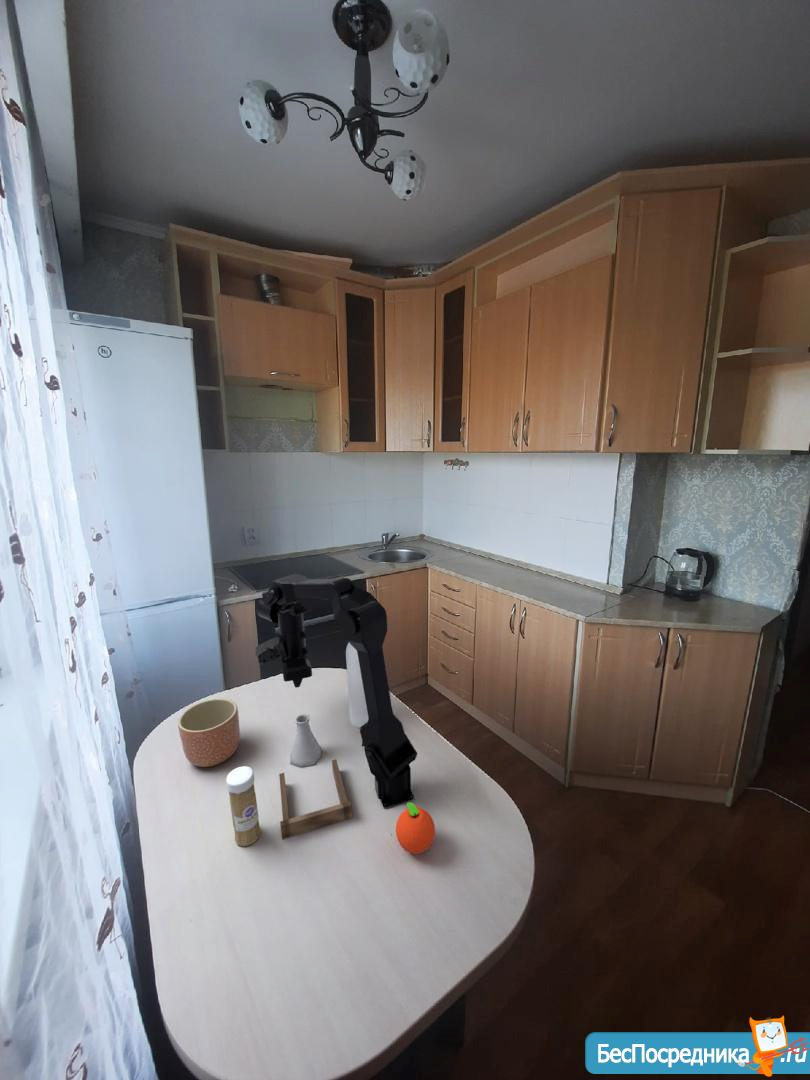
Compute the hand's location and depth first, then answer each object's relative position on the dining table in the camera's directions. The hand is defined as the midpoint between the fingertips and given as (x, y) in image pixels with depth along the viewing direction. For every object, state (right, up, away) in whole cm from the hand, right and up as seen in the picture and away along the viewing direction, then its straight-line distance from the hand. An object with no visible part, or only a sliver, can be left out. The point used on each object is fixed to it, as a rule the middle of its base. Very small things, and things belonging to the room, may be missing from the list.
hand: (297, 686), depth 105 cm
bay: (+8, -17, -18) cm, 26 cm away
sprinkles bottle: (-3, -19, -26) cm, 32 cm away
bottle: (+16, -11, +6) cm, 20 cm away
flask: (+4, -14, -6) cm, 16 cm away
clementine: (+28, -19, -28) cm, 44 cm away
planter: (-18, -14, -5) cm, 24 cm away
